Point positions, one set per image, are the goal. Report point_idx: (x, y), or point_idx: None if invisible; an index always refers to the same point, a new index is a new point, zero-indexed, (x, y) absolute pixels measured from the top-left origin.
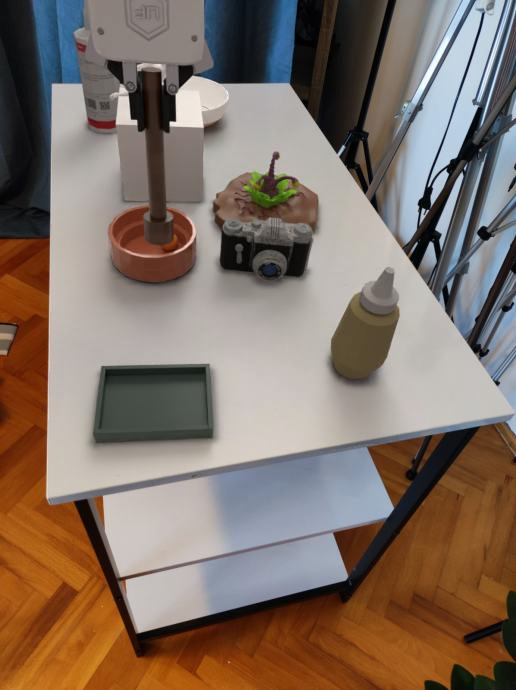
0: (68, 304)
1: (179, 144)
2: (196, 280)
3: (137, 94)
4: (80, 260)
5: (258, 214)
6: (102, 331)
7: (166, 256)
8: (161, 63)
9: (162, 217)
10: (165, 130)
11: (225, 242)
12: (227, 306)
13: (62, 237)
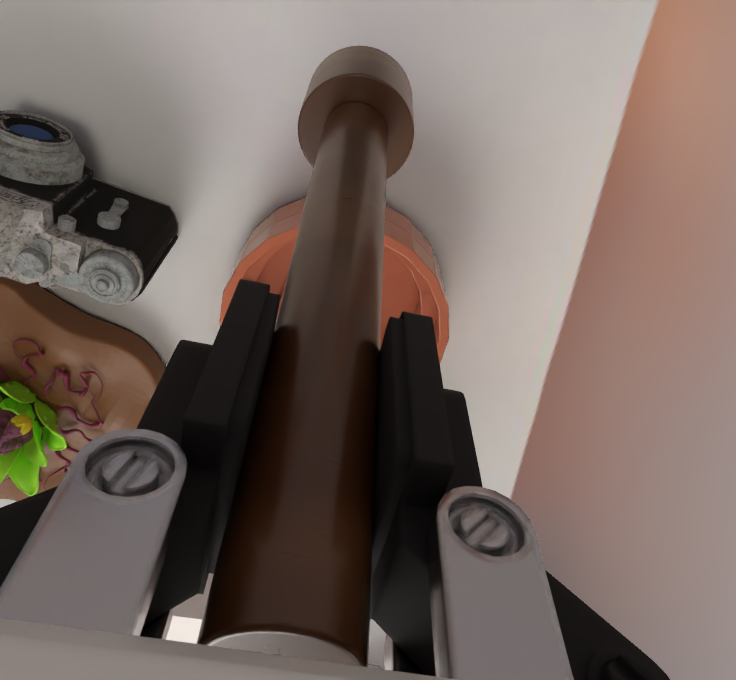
0: (575, 171)
1: (211, 576)
2: (250, 184)
3: (436, 461)
4: (509, 311)
5: (45, 365)
6: (524, 53)
7: None
8: (154, 643)
9: (344, 105)
10: (265, 288)
11: (145, 244)
12: (183, 63)
13: (528, 389)
